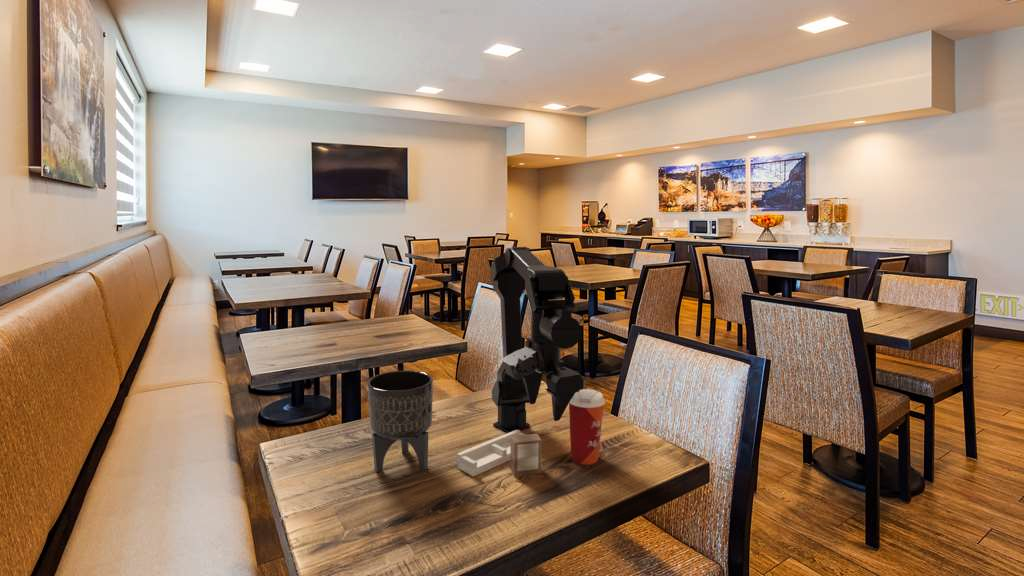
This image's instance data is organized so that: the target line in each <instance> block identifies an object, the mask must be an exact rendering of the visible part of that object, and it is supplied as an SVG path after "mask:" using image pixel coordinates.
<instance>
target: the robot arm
mask: <svg viewBox="0 0 1024 576" xmlns="http://www.w3.org/2000/svg"><path fill="white" fill-rule="evenodd" d="M489 277H490V278H489V279H490V281H491V282H492V288H493V290H494V292H495V293H496V294H497V297H498V298H499V301H500V317H501V318H500V319H501V337H502V338H501V341H502V359H501V361H502V362H501V365H500V366H499V368H498V370H497V372H496V380H495V382H494V385H493V387H492V389H491V400H492V402H493V403H494V404H495V406H496V407H497V421H495V422H494V423H492V426H493V427H495V428H497V429H499V430H501V431H504V432H507V433H510V432H512V431H514V430H517V429H518V430H520V431H522V430H524V429H526V428H530V426H531V424H530V423H528V422H527V410H526V404H530V405H534V404H536V403H537V399H538V396H539V391H540V388H541V384H542V380H543V376H545V384H546V386H547V388H545V391H546V392H547V393H548V394H549V395H550V396H551V404H552V405H551V406H552V418H553V421H554V422H558V421H560V420H561V418H562V417H563V415H564V412H565V411H566V409H567V407H569V402H570V400H571V399H572V397H573V396H574V394H575V393H576V392H579V391H580V390H583V389H585V379H586V378H585V377H584V376H583V375H582V374H581V373H579V372H578V371H575V370H573V369H571V368H568V369H562V370H559V368H564V367H565V364H566V363H565V361H564V360H562V359H561V349H562V350H563V349H564V350H567V349H571V348H573V347H575V346H576V345H577V344H578V343H579V341H580V340H581V338H582V333H583V331H582V330H583V329H582V327H581V323H580V322H579V321H578V320H577V319H576V318H574V317H573V316H572V314H573V313H572V312H573V311H572V310H571V309H575V307H576V306H575V300H576V298H575V294H574V291H573V288H572V287H571V283H570V281H569V280H570V279H569V278H568V277H569V276H568V275H566V272H565V271H564V270H563V269H561V268H559V267H557V266H556V267H555V266H548V265H545V264H544V263H543V261H541V260H540V259H539V257H537V256H536V255H534V253H532V250H531V249H530V247H527V246H510V247H507V248H506V249H505V251H504V253H503V254H501V255H499V256H497V257H496V258H494V259H493V262H492V264H491V266H490V268H489ZM524 292H525V293H526V296H527V298H528V301H529V306H530V308H531V311H530V313H531V315H530V319H531V320H530V337H528V338H526V340H525V341H524V343H525V344H524V347H523V334H522V333H523V332H522V330H523V329H522V310H521V309H522V307H521V297H522V295H523V294H524Z"/></svg>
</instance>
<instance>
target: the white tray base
mask: <svg viewBox="0 0 1024 576" xmlns="http://www.w3.org/2000/svg"><path fill="white" fill-rule="evenodd" d="M519 435H527V434H526V433H525V432H524V433H523V432H521V430H518V429H517V430H514V431H512V432H510V433H508V432H507V433H504V434H502V435H500V436H497V437H495V438H493V439H490V440H488V441H484V442H482V443H480V444H477V445H475V446H473V447H470V448H466V449H465V450H463V451H460V452H457V453H456V468H457V469H459V470H461V471H463V472H464V473H466V474H468V475H469V476H471V477H475V476H478V475H480V474H482V473H484V472H486V471H489V470H491V469H492V468H495V467H498V466H500V465H502V464H504V463H507V462H509V461H511V436H519Z"/></svg>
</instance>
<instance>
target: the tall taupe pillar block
mask: <svg viewBox="0 0 1024 576" xmlns="http://www.w3.org/2000/svg"><path fill="white" fill-rule="evenodd" d="M542 441H543V439H541V437H540V435H539V433H531V434H530V433H529V434H526V435H519V436H511V460H509V461H510V464H509V465H510V472H511V473H512V475H513V477H523V476H529V475H539V474H542V449H543V447H542V445H543V444H542Z"/></svg>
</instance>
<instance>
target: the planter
mask: <svg viewBox="0 0 1024 576" xmlns="http://www.w3.org/2000/svg"><path fill="white" fill-rule="evenodd" d="M366 389H367V400H368V401H367V403H368V412H369V413H368V414H369V423H370V424H369V425H370V430H371V431H372V432H373V433H371V441H372V452H373V464H374V471H375V472H376V473H379V472H383V470H384V469H383V468H384V461H385V459H386V454H387V452H388V450H389V449H390V448H391V447H392V445H393V444H395V442H397V441H400V443H401V454H409V450H410V449H409V448H410V446H411V447H412V449H413V450H414V452H415V455H416V458H417V462H418V469H419V471H422V472H423V471H424V472H425V471H426V470H427V469H428V467H429V460H428V459H429V432H428V430H429V429H430V427H431V426H432V422H433V398H434V397H433V396H434V395H433V393H434V379H433V377H432V375H430V374H428V373H426V372H423V371H418V370H393V371H392V370H391V371H387V372H382V373H378V374H376V375H373V376H372V377H370V378H369V379H368V380H367V382H366ZM409 445H410V446H409Z"/></svg>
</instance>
